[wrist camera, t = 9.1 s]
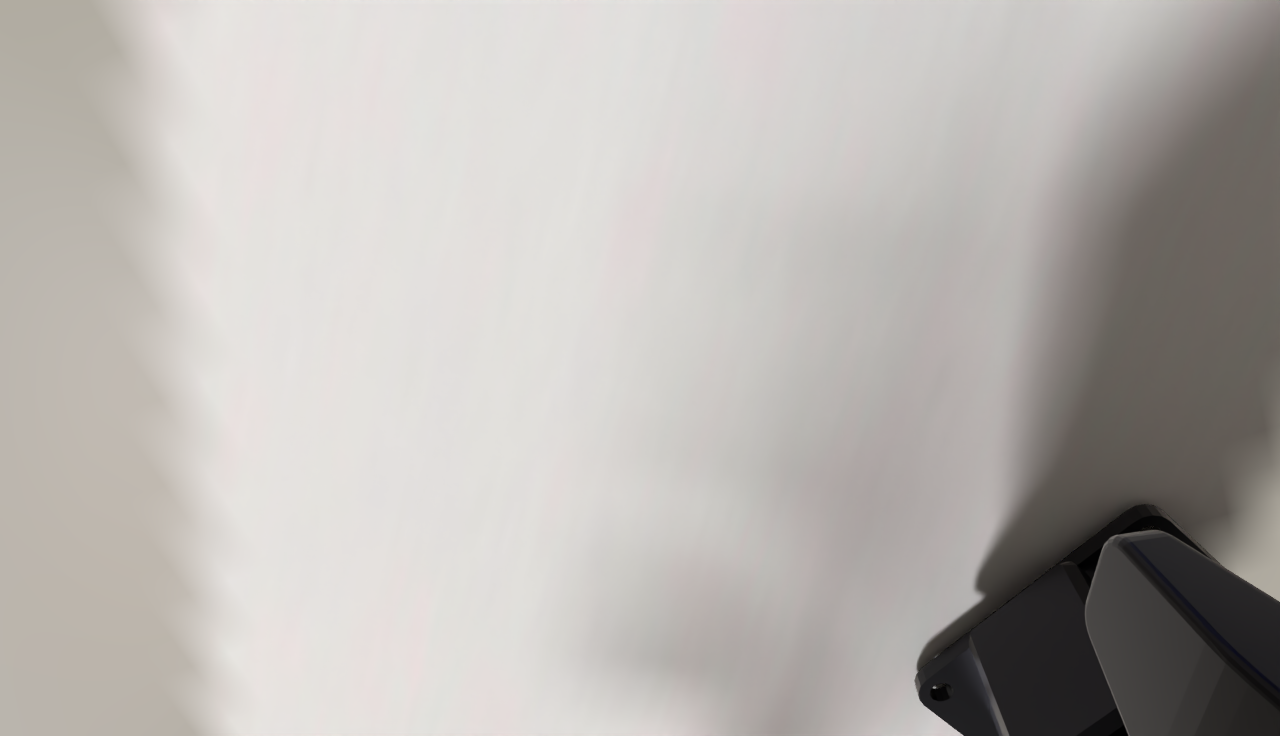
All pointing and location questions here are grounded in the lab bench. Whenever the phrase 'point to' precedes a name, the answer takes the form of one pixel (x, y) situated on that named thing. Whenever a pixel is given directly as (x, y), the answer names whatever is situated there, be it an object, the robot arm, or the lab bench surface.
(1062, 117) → the lab bench surface
